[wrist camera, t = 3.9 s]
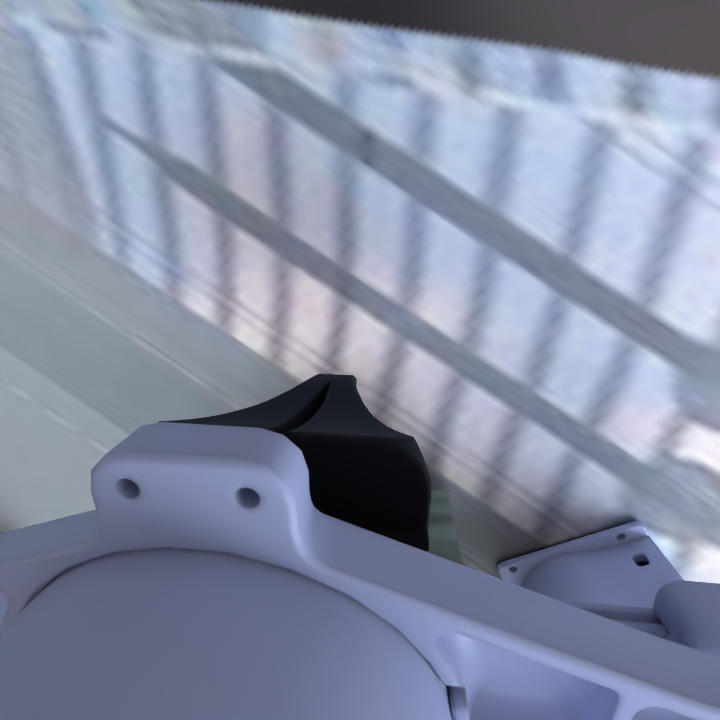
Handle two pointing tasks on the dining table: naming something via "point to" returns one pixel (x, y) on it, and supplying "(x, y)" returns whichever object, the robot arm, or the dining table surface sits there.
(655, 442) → the dining table surface
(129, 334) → the dining table surface
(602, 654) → the robot arm
